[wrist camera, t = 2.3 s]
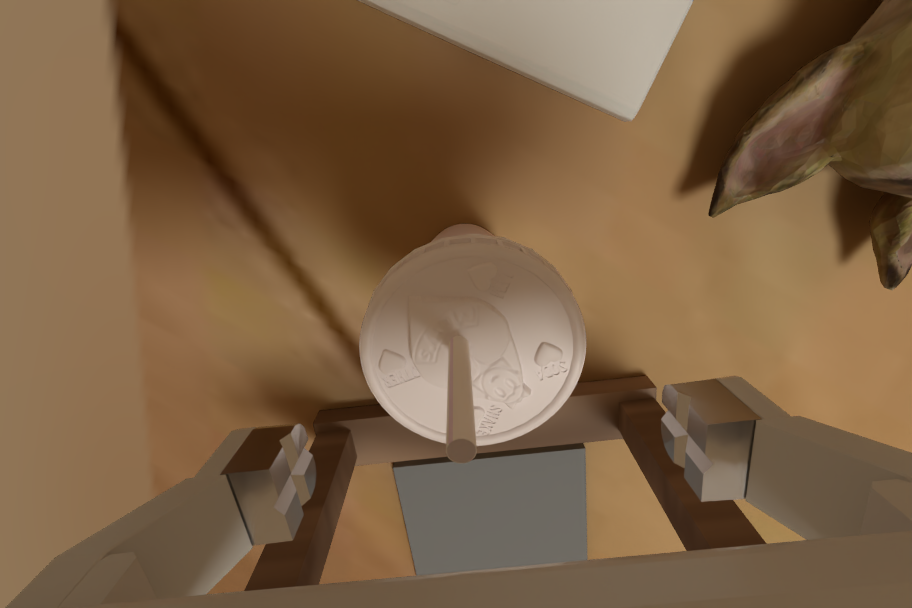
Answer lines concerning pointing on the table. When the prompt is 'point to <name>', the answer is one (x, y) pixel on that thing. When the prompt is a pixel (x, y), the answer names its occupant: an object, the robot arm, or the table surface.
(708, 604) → the robot arm
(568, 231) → the table surface
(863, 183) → the ceramic sculpture
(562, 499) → the mat
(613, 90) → the external hard drive
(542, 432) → the bar hurdle
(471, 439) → the smoothie
